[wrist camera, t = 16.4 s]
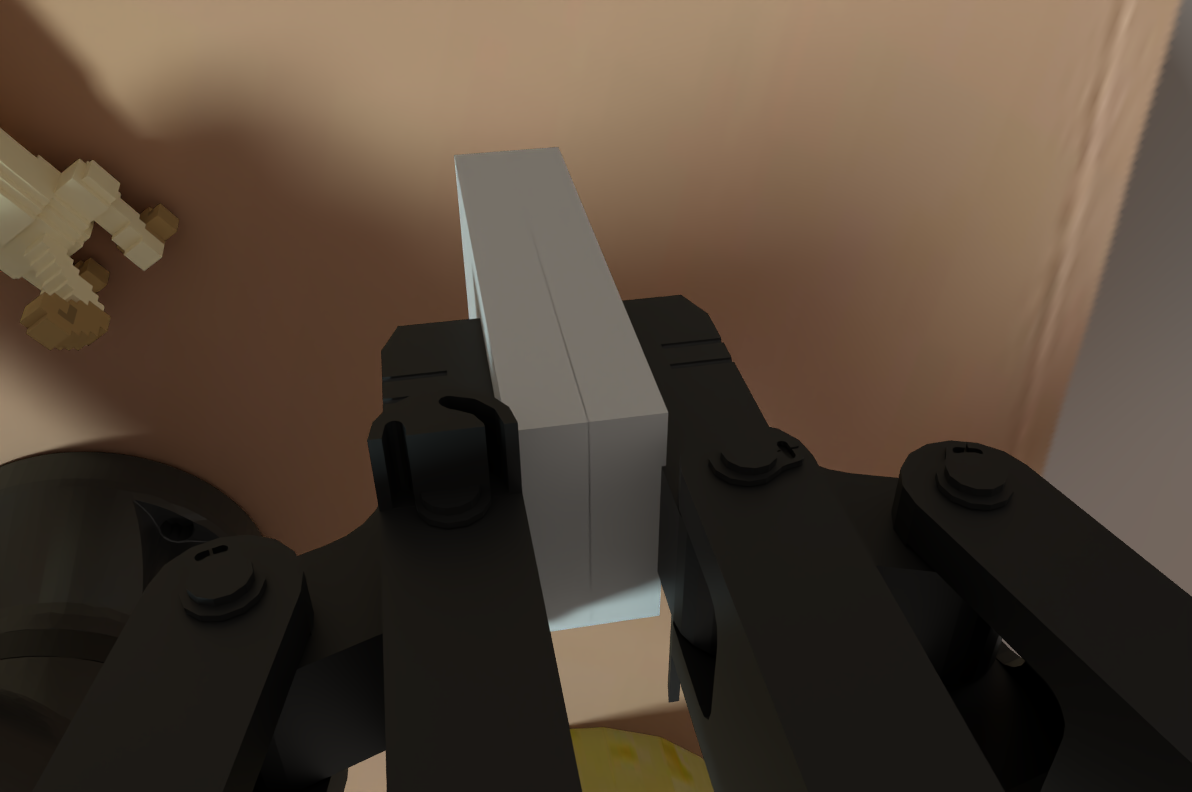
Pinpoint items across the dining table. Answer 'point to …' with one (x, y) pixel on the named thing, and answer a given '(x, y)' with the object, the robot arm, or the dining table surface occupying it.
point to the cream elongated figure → (68, 240)
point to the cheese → (635, 763)
